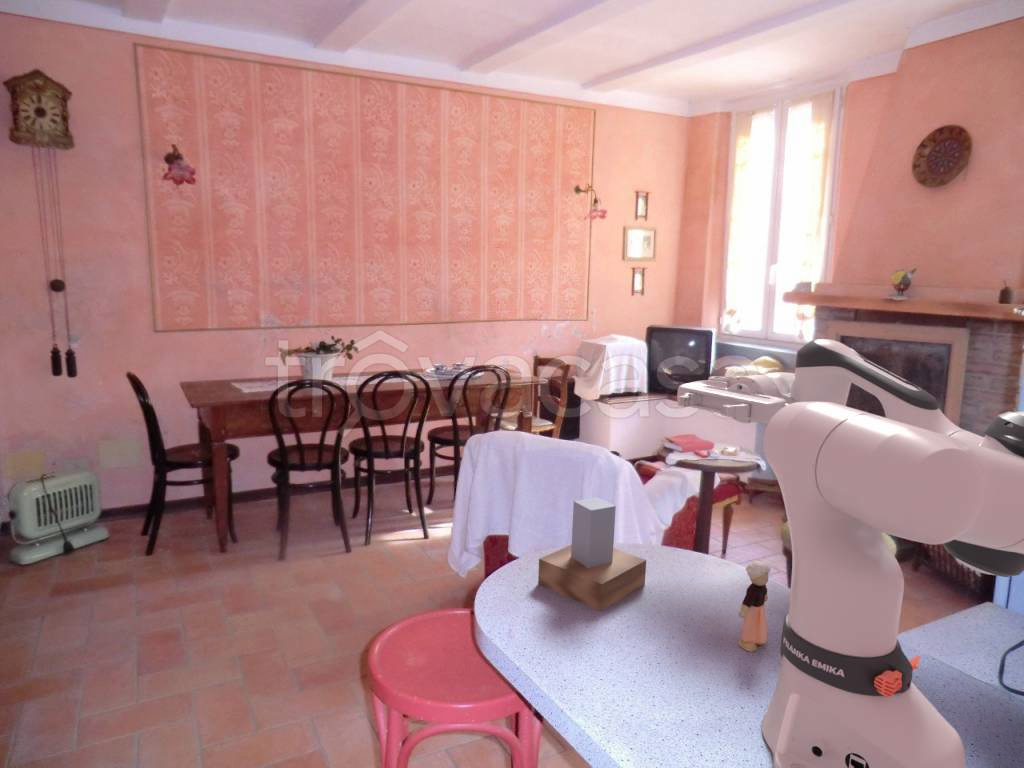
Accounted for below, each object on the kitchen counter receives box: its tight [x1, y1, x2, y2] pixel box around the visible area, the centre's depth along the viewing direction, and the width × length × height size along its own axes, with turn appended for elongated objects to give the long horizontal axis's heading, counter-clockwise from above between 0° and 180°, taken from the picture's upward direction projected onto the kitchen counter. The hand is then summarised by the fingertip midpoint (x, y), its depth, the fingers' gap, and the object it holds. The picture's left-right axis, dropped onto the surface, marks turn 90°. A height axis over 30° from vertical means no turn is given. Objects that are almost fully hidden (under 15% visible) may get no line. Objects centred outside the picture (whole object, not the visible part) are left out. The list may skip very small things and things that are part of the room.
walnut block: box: [537, 543, 647, 612], centre depth 117 cm, size 13×13×5 cm
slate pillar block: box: [571, 496, 617, 568], centre depth 116 cm, size 5×5×10 cm
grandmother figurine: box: [737, 560, 771, 653], centre depth 100 cm, size 8×4×13 cm, turn 147°
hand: (702, 406), depth 121 cm, fingers open, 8 cm apart
